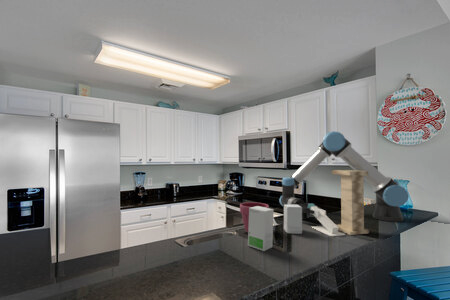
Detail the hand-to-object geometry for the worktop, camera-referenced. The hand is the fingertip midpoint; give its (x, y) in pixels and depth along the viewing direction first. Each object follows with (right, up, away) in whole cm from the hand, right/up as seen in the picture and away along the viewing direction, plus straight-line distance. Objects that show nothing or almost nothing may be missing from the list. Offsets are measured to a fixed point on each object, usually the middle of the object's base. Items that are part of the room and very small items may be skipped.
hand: (322, 213), depth 123 cm
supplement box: (-16, -8, -5) cm, 19 cm away
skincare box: (-35, -7, -26) cm, 44 cm away
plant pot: (-35, -8, -4) cm, 36 cm away
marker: (0, -4, +1) cm, 4 cm away
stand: (+13, -8, -2) cm, 15 cm away
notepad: (+1, -8, -4) cm, 9 cm away
